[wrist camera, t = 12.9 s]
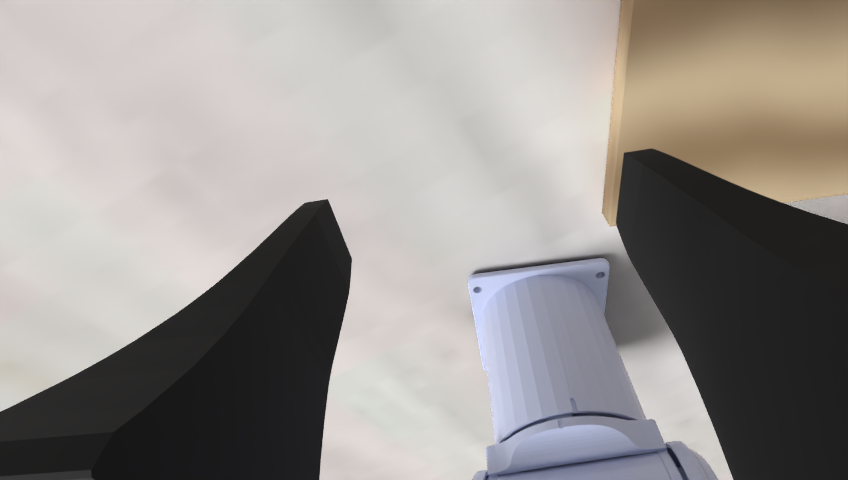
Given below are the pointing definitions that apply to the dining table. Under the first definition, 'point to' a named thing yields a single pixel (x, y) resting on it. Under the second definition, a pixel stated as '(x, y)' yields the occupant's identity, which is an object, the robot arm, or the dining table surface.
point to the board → (735, 93)
